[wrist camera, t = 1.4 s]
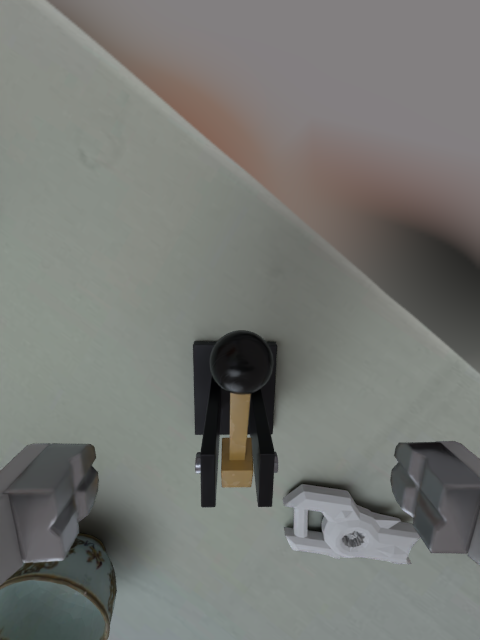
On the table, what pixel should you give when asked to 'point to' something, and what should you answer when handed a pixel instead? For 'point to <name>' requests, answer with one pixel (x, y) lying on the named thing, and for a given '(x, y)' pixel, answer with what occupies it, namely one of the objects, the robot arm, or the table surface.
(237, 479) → the lever
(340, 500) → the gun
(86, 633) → the bowl
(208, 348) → the bracket
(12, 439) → the table surface
